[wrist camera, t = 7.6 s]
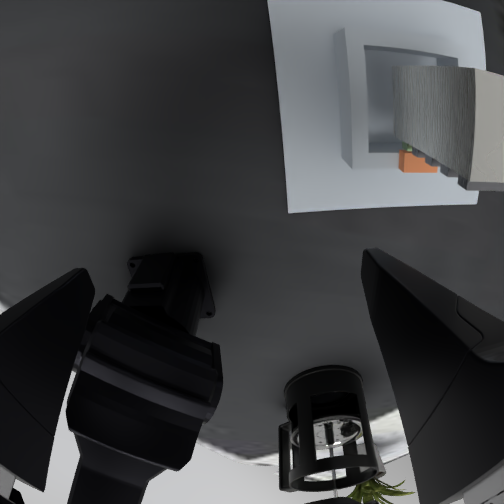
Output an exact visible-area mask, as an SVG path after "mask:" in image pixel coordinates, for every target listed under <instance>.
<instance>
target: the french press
mask: <svg viewBox="0 0 504 504" xmlns="http://www.w3.org/2000/svg"><path fill="white" fill-rule="evenodd" d="M362 387H363V380H362V377H361V375H360V374H359V373H358V372H357V371H355V370H354V369H352V368H349V367H344V366H332V365H331V366H322V367H317V368H313V369H310V370H307V371H304V372H302V373H300V374H298V375H297V376H295V377H293V378H292V379H291V380H290V381H289V382H288V383H287V385H286V387H285V389H284V397H285V400H286V406H287V418H288V420H289V422H286V423H284V424H281V425H280V426H279V429H278V430H279V489H280V490H281V491H286V492H294V491H306V492H321V491H331V490H333V491H334V498H330V499H325V500H319V501H315V502H310V503H306V504H361V503H360V502H358V501H356V500H354V499H351V498H349V497H338V494H337V489H342V488H347V487H351V486H354V485H357V484H360V483H363V482H365V481H368V480H370V479H371V478H373V477H374V476H376V475H377V474H378V473H379V467H378V461H377V458H376V455H375V450H374V444H373V439H372V434H371V429H370V424H369V419H368V414H367V410H366V402H365V397H364V393H363V388H362ZM331 392H346V393H349V394H348V395H347V396H345V397H344V398H342V399H341V400H339V401H336V402H334V403H330V404H326V405H312V403H311V397H312V396H315V395H319V394H324V393H331ZM291 430H292V435H291V437H290V439H289V432H290V431H291ZM362 436H363V437H364V443H365V449H366V454H367V455H364V454H358V451H357V444H356V440H357V439H359V438H360V437H362ZM290 441H291V443H292V454H293V469H292V470H291V469H290ZM339 446H343V452H344V455H342V456H334V455H333V448H336V447H339ZM320 449H329V450H330V457H329V458H324V459H319V460H317V458H316V450H320ZM360 467H370V468H368V469H367V470H365V471H363V472H361V471H360ZM343 468H346V476H347V477H346V478H341V479H336V474H335V469H343ZM330 470H332V479H333V480H330V481H317V482H315V481H304V477H305V476H308V475H311V474H315V473H320V472H324V471H330ZM364 504H379V503H378V502H377V501H376V500H372V501H369V502H367V503H364Z"/></svg>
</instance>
